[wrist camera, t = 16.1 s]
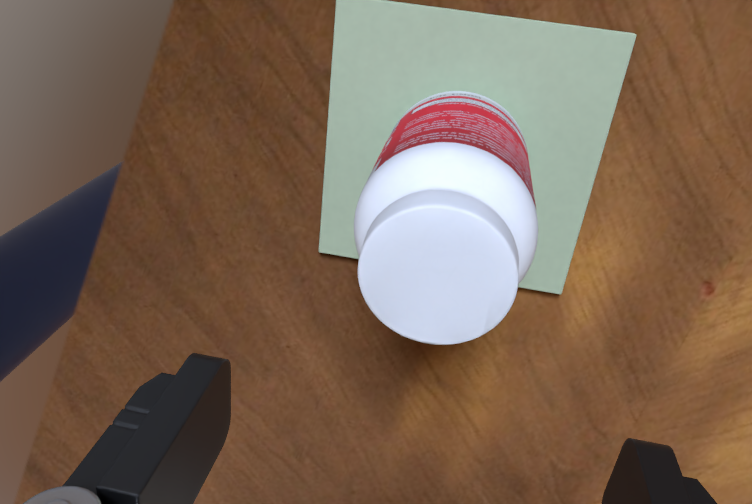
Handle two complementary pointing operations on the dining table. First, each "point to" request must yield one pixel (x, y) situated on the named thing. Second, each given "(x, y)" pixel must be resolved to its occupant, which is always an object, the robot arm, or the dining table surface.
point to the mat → (481, 76)
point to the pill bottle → (447, 220)
